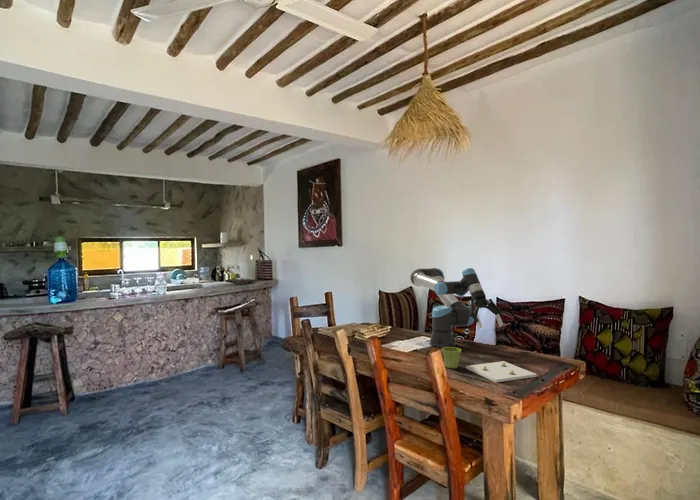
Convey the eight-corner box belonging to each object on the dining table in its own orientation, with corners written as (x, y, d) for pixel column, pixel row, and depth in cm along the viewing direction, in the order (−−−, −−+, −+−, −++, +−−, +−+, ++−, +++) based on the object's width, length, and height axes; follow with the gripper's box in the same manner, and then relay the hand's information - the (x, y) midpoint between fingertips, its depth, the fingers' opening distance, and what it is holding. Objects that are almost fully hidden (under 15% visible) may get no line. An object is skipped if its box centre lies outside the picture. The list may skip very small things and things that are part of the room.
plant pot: (454, 363, 206) (454, 346, 206) (465, 368, 197) (465, 350, 197) (438, 365, 203) (438, 348, 203) (448, 370, 194) (448, 352, 194)
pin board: (466, 368, 197) (466, 362, 197) (503, 363, 203) (503, 358, 203) (495, 382, 176) (495, 376, 176) (536, 376, 183) (536, 370, 183)
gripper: (461, 290, 225) (475, 325, 213) (498, 288, 233) (513, 322, 221) (455, 297, 231) (468, 331, 219) (491, 295, 239) (506, 328, 227)
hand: (491, 326), depth 220 cm, fingers open, 13 cm apart
